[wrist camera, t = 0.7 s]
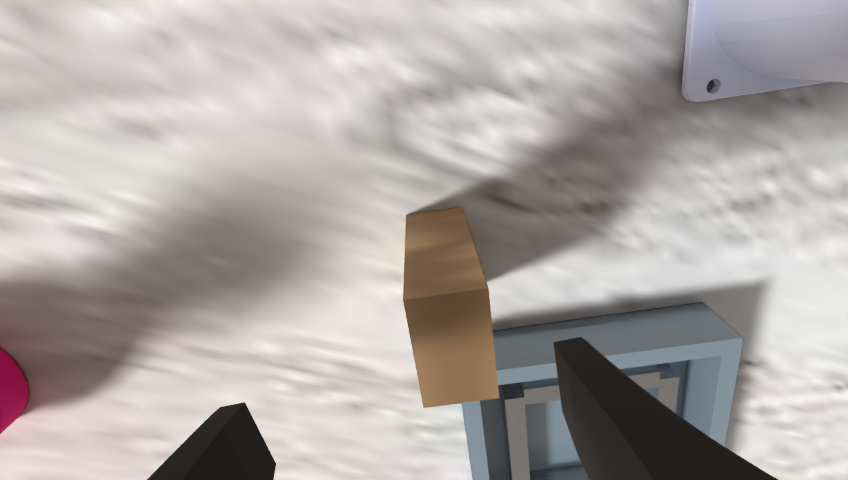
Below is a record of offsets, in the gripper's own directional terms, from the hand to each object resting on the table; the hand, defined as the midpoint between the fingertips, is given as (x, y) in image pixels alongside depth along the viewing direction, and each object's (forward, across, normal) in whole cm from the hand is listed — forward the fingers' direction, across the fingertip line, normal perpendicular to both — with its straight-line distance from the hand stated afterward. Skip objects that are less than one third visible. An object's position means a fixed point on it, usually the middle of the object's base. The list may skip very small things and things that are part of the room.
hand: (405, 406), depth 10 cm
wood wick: (+10, -1, +1) cm, 10 cm away
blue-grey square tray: (+10, -6, +12) cm, 17 cm away
